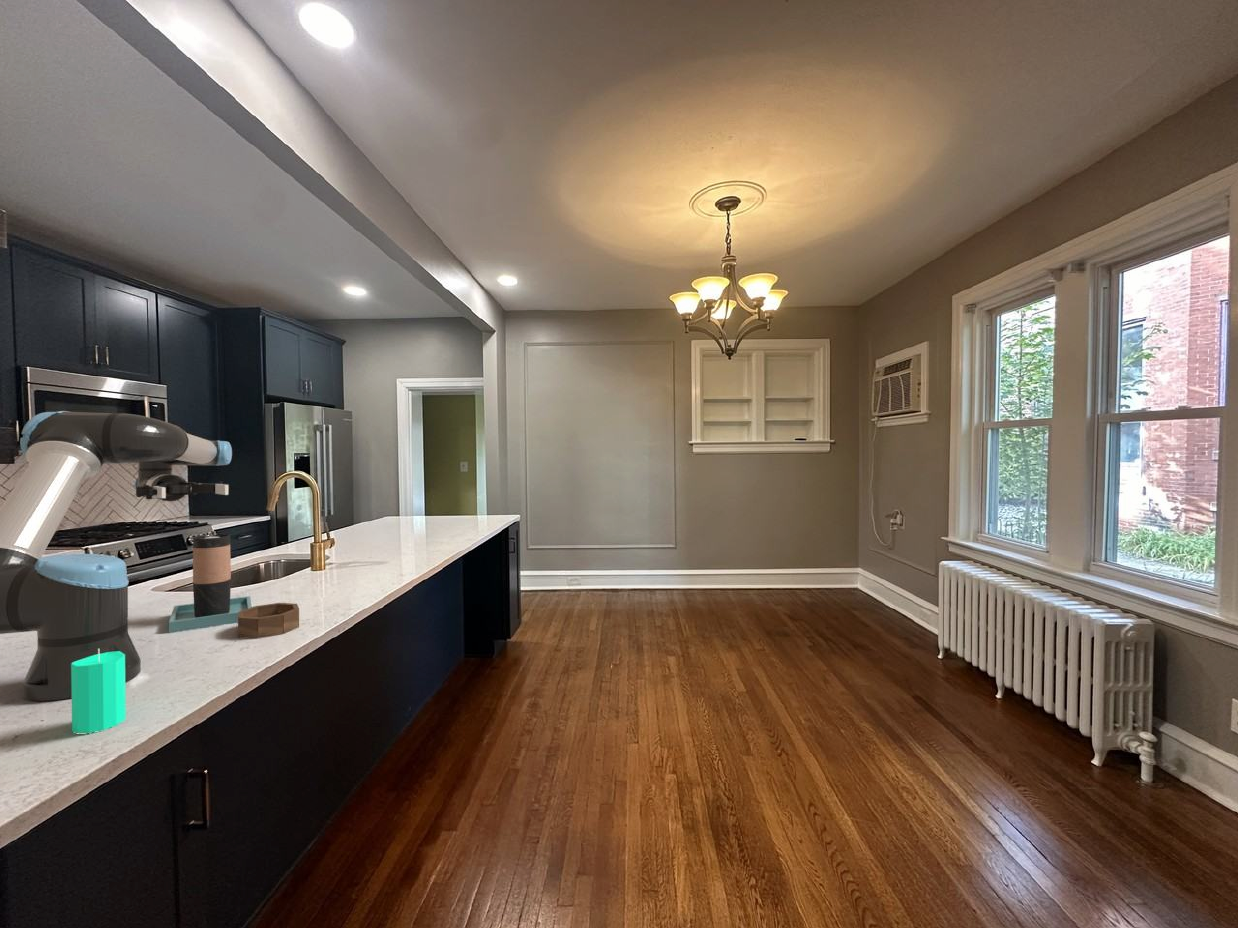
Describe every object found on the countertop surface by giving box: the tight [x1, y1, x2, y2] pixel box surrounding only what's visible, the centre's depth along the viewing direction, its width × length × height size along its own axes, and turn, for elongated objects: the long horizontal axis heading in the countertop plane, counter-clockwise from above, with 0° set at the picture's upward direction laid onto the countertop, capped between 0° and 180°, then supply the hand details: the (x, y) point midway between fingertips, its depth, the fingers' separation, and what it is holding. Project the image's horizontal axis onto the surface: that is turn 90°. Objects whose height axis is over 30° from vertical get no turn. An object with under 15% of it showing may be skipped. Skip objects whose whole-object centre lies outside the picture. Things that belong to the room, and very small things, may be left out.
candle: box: [71, 649, 127, 733], centre depth 81 cm, size 6×6×12 cm
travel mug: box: [192, 533, 232, 618], centre depth 133 cm, size 8×8×20 cm
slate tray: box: [168, 595, 253, 634], centre depth 133 cm, size 16×16×2 cm
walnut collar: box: [237, 602, 300, 639], centre depth 125 cm, size 12×12×4 cm
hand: (196, 491), depth 138 cm, fingers open, 13 cm apart
